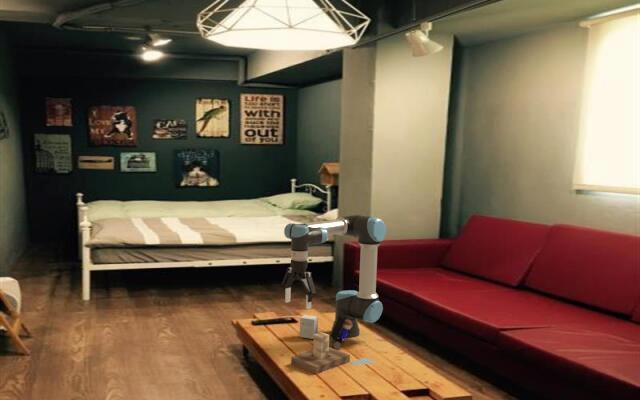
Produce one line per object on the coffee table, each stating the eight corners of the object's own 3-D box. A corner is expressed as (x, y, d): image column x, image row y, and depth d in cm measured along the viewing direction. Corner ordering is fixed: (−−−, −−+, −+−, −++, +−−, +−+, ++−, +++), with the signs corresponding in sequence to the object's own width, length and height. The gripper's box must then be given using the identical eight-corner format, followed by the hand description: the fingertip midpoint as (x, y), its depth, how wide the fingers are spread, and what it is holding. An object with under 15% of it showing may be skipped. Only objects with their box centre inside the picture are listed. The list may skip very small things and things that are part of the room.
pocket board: (324, 353, 278) (324, 345, 278) (349, 363, 267) (349, 354, 267) (291, 365, 262) (291, 356, 262) (316, 376, 251) (316, 367, 251)
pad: (363, 358, 273) (363, 357, 273) (380, 365, 266) (380, 363, 266) (349, 364, 266) (349, 363, 266) (366, 370, 259) (366, 369, 259)
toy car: (345, 351, 283) (356, 323, 284) (331, 347, 281) (342, 318, 282) (340, 347, 290) (350, 319, 290) (327, 343, 287) (337, 315, 288)
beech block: (320, 361, 268) (321, 332, 267) (328, 364, 265) (329, 334, 263) (312, 364, 265) (313, 334, 263) (320, 367, 261) (321, 337, 260)
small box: (317, 335, 302) (318, 316, 301) (313, 339, 297) (314, 319, 296) (303, 333, 305) (304, 314, 304) (299, 337, 300) (300, 317, 299)
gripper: (274, 255, 266) (273, 300, 269) (312, 265, 249) (311, 313, 251) (286, 253, 272) (285, 297, 274) (324, 263, 254) (323, 309, 257)
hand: (297, 305), depth 263 cm, fingers open, 13 cm apart
